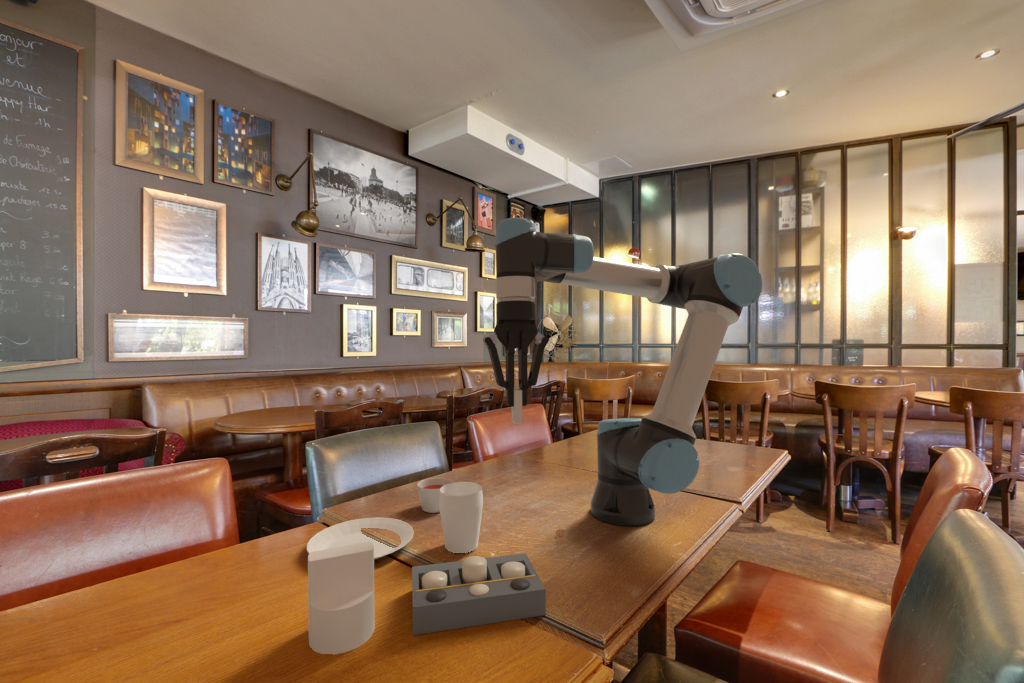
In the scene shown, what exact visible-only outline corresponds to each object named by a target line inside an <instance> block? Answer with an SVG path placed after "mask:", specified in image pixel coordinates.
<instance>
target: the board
mask: <svg viewBox="0 0 1024 683" xmlns="http://www.w3.org/2000/svg"><path fill="white" fill-rule="evenodd" d="M484 558H485V559H486V561H487V581H482V582H475V583H467V584H462V562H463V560H457V561H450V562H449V561H448V562H441V563H439V562H438V563H433V564H425V565H424V564H423V565H416V566H415V565H414V566H412V567H411V569H412V570H411V576H412V578H411V581H412V582H411V583H412V585H411V588H412V592H411V593H412V596H411V597H412V598H411V599H412V636H416V635H423V634H429V633H430V634H431V633H436V632H443V631H444V632H445V631H449V630H456V629H462V628H463V629H464V628H469V627H478V626H483V625H489V624H497V623H501V622H502V623H503V622H509V621H510V622H511V621H515V620H521V619H529V618H535V617H540V616H541V617H543V616H546V615H547V609H546V606H547V605H546V602H547V601H546V596H547V595H546V592H547V591H546V588H545V586H544V584H543V582H542V580H541V578H540V577H539V575H538V573H537V570H536V569H535V568H534V565H533V563H532V562H531V560H530V558H529V556H528V554H527V553H525V552H524V553H517V554H516V553H515V554H508V555H498V556H491V557H490V556H489V557H484ZM507 562H520V563H522V564H523V565H524V566H525V576H521V577H513V578H505V579H501V566H502V565H503V564H505V563H507ZM431 571H442V572H444V573H446V574H447V586H444V587H436V588H429V589H422V577H423V575H425V574H426V573H428V572H431ZM545 614H546V615H545Z"/></svg>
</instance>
